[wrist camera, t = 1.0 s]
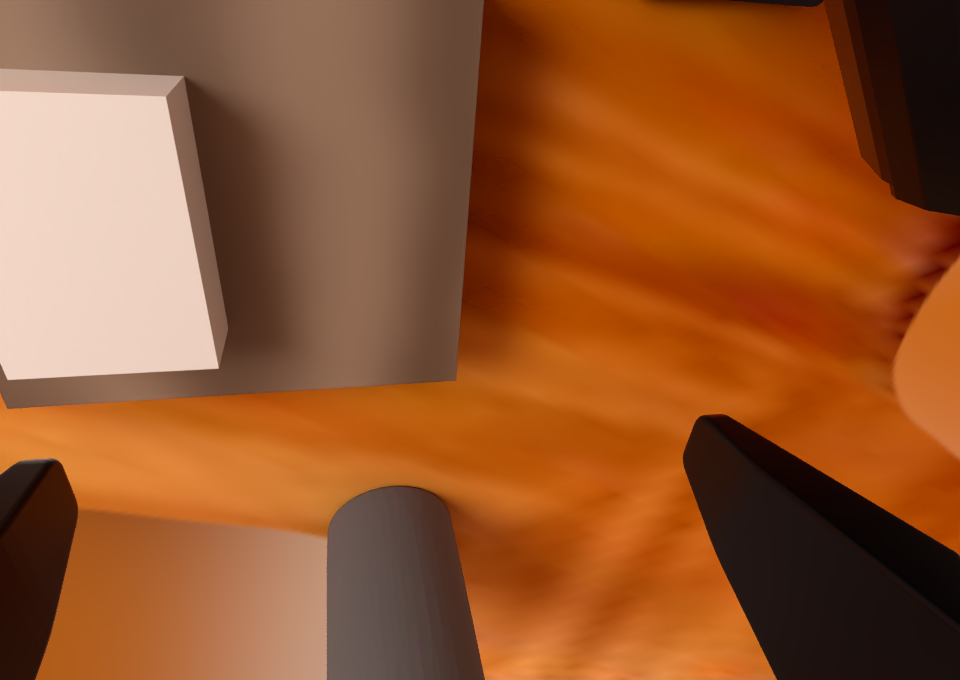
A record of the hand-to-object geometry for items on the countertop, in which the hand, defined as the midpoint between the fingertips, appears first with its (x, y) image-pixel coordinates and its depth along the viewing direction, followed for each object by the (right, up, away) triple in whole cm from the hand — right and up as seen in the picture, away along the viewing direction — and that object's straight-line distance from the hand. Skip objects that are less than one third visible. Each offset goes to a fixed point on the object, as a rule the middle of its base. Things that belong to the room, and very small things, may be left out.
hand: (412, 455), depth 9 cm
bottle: (-3, -7, +20) cm, 22 cm away
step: (-7, +7, +10) cm, 14 cm away
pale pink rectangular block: (-9, +5, +7) cm, 12 cm away
